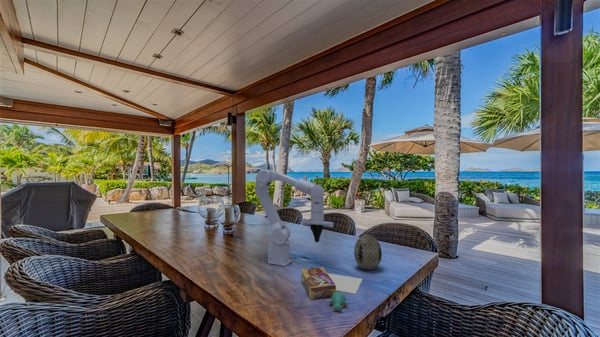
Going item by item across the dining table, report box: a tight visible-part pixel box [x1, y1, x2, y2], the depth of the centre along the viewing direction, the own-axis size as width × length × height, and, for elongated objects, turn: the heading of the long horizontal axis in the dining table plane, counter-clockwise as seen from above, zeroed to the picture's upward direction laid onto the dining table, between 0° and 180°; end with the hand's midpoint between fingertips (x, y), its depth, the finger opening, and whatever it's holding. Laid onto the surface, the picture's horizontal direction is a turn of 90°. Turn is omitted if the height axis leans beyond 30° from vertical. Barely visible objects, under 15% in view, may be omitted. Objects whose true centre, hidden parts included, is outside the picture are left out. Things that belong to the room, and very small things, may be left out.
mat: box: [327, 272, 363, 295], centre depth 101 cm, size 16×14×1 cm
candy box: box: [300, 267, 337, 300], centre depth 96 cm, size 9×4×15 cm
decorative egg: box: [353, 233, 383, 271], centre depth 117 cm, size 12×12×15 cm
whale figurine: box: [328, 291, 348, 311], centre depth 84 cm, size 6×7×4 cm
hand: (317, 241), depth 122 cm, fingers closed
